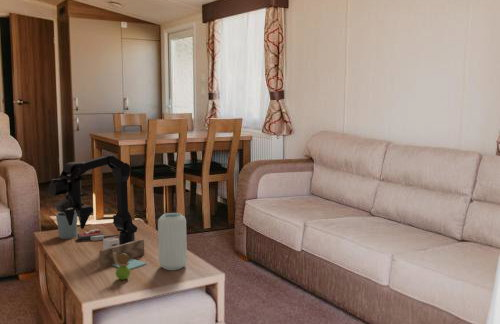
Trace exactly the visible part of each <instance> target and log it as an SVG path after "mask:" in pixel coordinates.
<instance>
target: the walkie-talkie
mask: <svg viewBox="0 0 500 324" xmlns="http://www.w3.org/2000/svg"><path fill="white" fill-rule="evenodd" d="M119 236H120V233H118V234H110V235H105V234H104V231H101V230H100V229H98V228H96V229H90V230H88V231H86V230H85V231H83V232H80V233H77V241H79V242H81V241H82V242H87V241H91V240H92V242H93V241H95V242H97V241H103V239H107V238H111V237H114V238H115V237H119Z"/></svg>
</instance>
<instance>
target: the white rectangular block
mask: <svg viewBox="0 0 500 324" xmlns="http://www.w3.org/2000/svg"><path fill="white" fill-rule="evenodd" d="M102 244H103V245H102V246H103V249H107V248H111V247H114V246H118V245H119V238H117V237H115V236H114V237H109V238H104V239H103V240H102ZM103 249H102V250H103Z"/></svg>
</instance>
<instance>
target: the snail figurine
mask: <svg viewBox="0 0 500 324" xmlns="http://www.w3.org/2000/svg"><path fill="white" fill-rule="evenodd" d="M112 251H114V249H113V250H112ZM113 257H114V260H115V263H116V264H117V265H119V266H120V267H118V268H117V267H116V268H117V269H116V270H115V275H116V277H117V278H118V279H119V280H121V281H122V280H126V279H128V278H129V277H130V275H131V270H130V269H129V268H128V267H127V265H129V263H128V261H129V256H128V255H127V254H125V253H122V254H120V255H119V256H118V258H117V257H116V253H115V252H113Z"/></svg>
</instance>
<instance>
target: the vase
mask: <svg viewBox="0 0 500 324" xmlns="http://www.w3.org/2000/svg"><path fill="white" fill-rule="evenodd" d="M157 233H158V234H157V236H158V237H157V238H158V243H157V244H158V263H159V266H160V267H162V268H163V269H164V270H167V271H177V270H180V269H182V268H183V267H184V266H186V264H187V262H188V261H187V259H188V255H187V253H188V252H187V251H188V249H187V248H188V247H187V246H188V245H187V242H188V241H187V219H186V217H185V216H184V215H183V214H181V213H179V212H166V213H164V214H162V215H161V216H160V217H158V219H157Z"/></svg>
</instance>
